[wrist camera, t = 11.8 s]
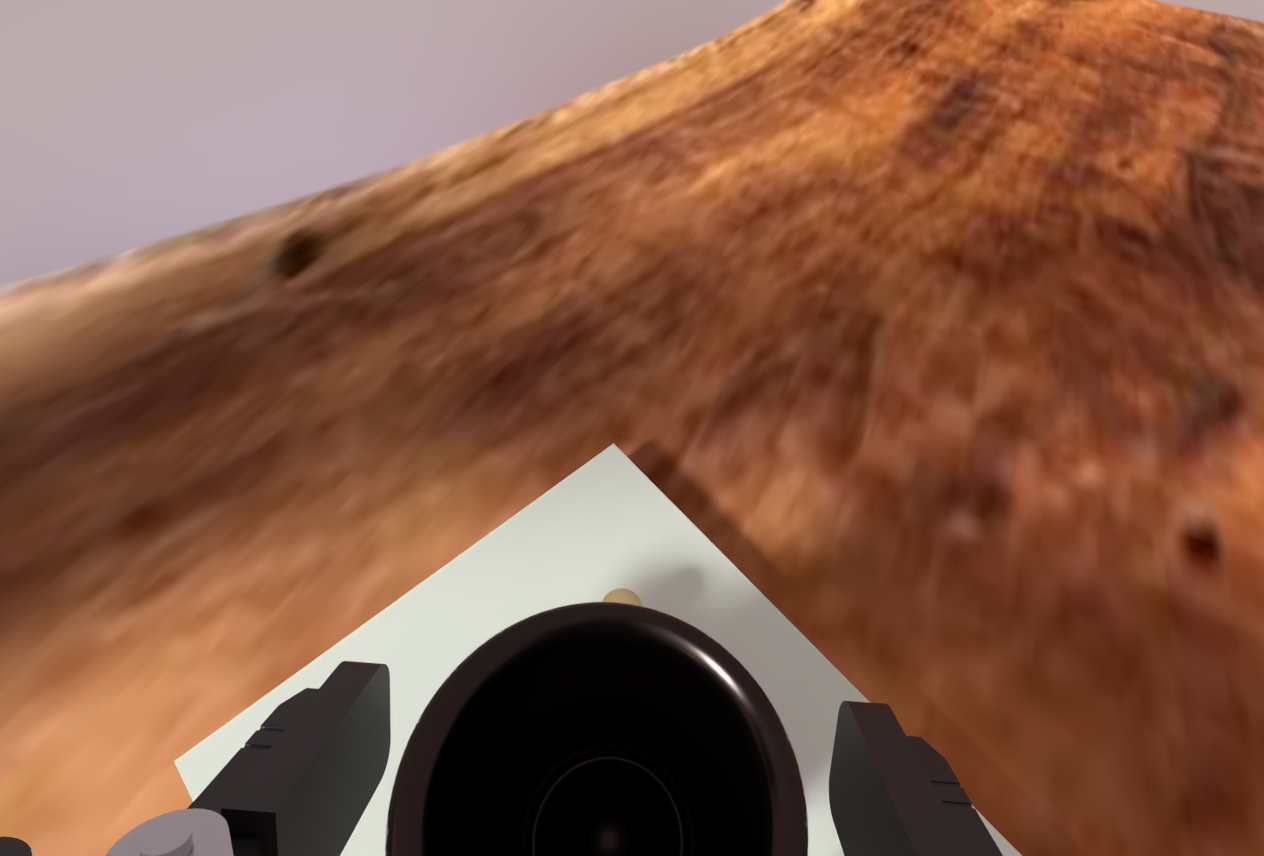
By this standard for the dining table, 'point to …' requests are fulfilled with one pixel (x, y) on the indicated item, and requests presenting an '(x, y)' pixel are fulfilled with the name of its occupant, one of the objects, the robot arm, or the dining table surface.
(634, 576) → the board
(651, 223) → the dining table surface
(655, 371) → the dining table surface
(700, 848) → the grey metal tumbler
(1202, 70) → the dining table surface
